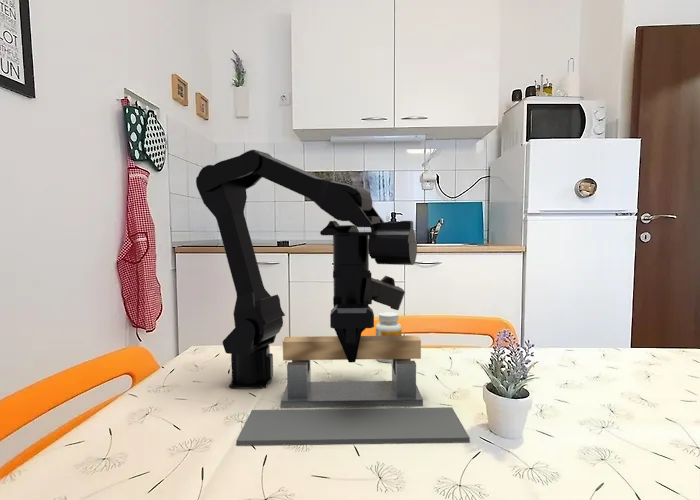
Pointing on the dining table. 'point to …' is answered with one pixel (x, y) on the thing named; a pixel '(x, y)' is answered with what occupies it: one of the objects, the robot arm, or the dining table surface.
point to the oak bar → (367, 348)
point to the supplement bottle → (388, 327)
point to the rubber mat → (352, 426)
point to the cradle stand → (351, 388)
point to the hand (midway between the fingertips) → (351, 358)
